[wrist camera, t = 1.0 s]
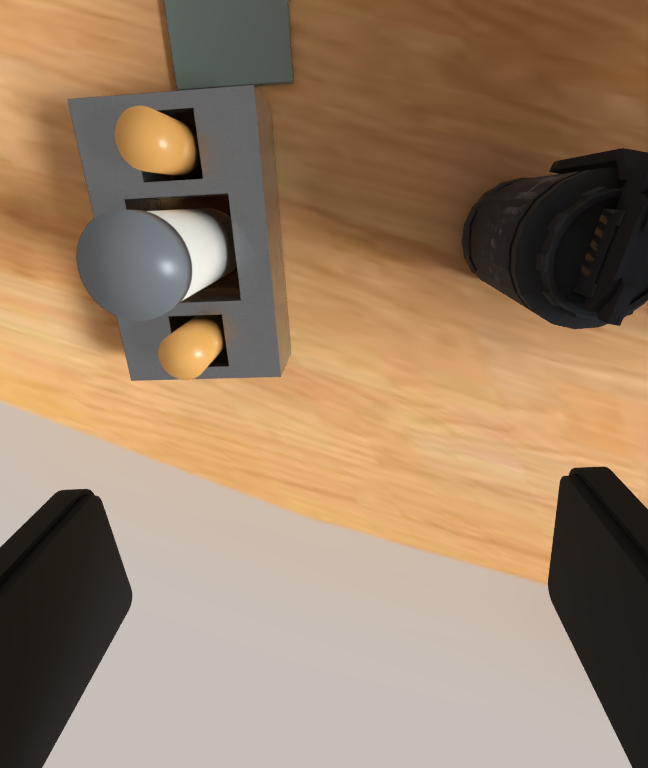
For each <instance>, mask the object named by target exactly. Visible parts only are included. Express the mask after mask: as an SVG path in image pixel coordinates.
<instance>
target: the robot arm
mask: <svg viewBox="0 0 648 768" xmlns="http://www.w3.org/2000/svg"><path fill="white" fill-rule="evenodd" d="M548 589H549V594H550V598H551V601H552V603H553V605H554V607H555V609H556V611H557V614H558V616H559V618H560V620H561V622H562V624H563V626H564V628H565V630H566V632H567V634H568V636H569V638H570V640H571V642H572V644H573V646H574V648H575V651H576V653H577V655H578V657H579V659H580V661H581V663H582V665H583V667H584V669H585V671H586V673H587V675H588V677H589V679H590V681H591V683H592V686H593V688H594V690H595V692H596V694H597V696H598V698H599V700H600V702H601V704H602V706H603V708H604V710H605V712H606V714H607V716H608V718H609V720H610V722H611V725H612V727H613V729H614V731H615V733H616V735H617V737H618V739H619V741H620V743H621V745H622V747H623V749H624V751H625V753H626V755H627V757H628V759H629V761H630V763H631V765H632V768H648V509H647V508H646V507H645V506H644V505H643V504H642V503H641V502H640V501H639V500H638V499H637V497H636V496H635V495H634V494H633V493H632V492H631V491H630V490H629V489H628V488H627V487H626V486H625V485H624V484H623V483H622V481H621V480H620V479H619V478H618V477H617V476H616V475H615V474H614V473H613V472H612V471H611V470H610V469H609V468H607V467H584V468H573V469H571V471H570V473H569V476H563V477H562V478H561V480H560V486H559V494H558V503H557V511H556V519H555V528H554V536H553V544H552V553H551V561H550V569H549V578H548ZM131 602H132V590H131V587H130V584H129V581H128V578H127V575H126V572H125V569H124V566H123V563H122V560H121V557H120V554H119V551H118V548H117V545H116V542H115V539H114V536H113V533H112V530H111V527H110V524H109V521H108V518H107V515H106V512H105V509H104V506H103V503H102V501H101V499H100V498H99V497H98V496H95V495H94V493H93V492H92V491H91V490H88V489H74V490H61V491H58V492H57V493H55V494H54V495H53V496H52V497H51V498H50V499H49V500H48V501H47V502H46V503H45V504H44V505H43V506H42V507H41V508H40V509H39V510H38V511H37V512H36V513H35V514H34V515H33V516H32V517H31V518H30V519H29V520H28V521H27V522H26V523H25V524H24V525H23V526H22V527H21V528H20V529H18V530H17V531H16V533H14V534H13V535H12V536H11V537H10V538H9V539H8V540H7V541H6V542H5V543H4V544H3V545H2V546H1V547H0V768H42V767H43V765H44V763H45V762H46V760H47V758H48V756H49V754H50V752H51V751H52V749H53V747H54V745H55V743H56V742H57V740H58V738H59V736H60V734H61V732H62V731H63V729H64V727H65V725H66V723H67V721H68V720H69V718H70V716H71V714H72V712H73V711H74V709H75V707H76V705H77V703H78V701H79V700H80V698H81V696H82V694H83V692H84V691H85V689H86V687H87V685H88V683H89V682H90V680H91V678H92V676H93V674H94V672H95V671H96V669H97V667H98V665H99V663H100V662H101V660H102V658H103V656H104V654H105V652H106V651H107V649H108V647H109V645H110V643H111V642H112V640H113V638H114V636H115V634H116V632H117V631H118V629H119V627H120V625H121V623H122V621H123V619H124V618H125V616H126V614H127V612H128V611H129V608H130V606H131Z"/></svg>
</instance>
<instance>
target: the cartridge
mask: <svg viewBox="0 0 648 768" xmlns="http://www.w3.org/2000/svg"><path fill="white" fill-rule="evenodd" d="M76 257H77V266H78V271H79V274H80V278H81V280H82V282H83V284H84V286H85V288H86V290H87V291H88V293H89V294H90V295H91V297H92V298H93V299H94V300H95V301H96V302H97V303H98V304H99V305H100V306H101V307H102V308H104V309H105V310H107V311H108V312H110V313H111V314H113V315H115V316H118V317H120V318H123V319H126V320H132V321H147V320H151V319H154V318H157V317H159V316H161V315H163V314H164V313H166V312H168V311H169V310H171V309H173V308H175V307H176V306H177V305H178V304H179V303H180V302H181V301H182V300H184V299H186V298H188V297H189V296H191V295H193V294H194V293H196V292H198V291H200V290H201V289H203V288H205V287H206V286H208V285H210V284H212V283H213V282H215V281H217V280H219V279H220V278H222V277H224V276H225V275H227V274H229V273H230V272H232V271H233V270H234V269H235V268H236V267H237V262H236V254H235V246H234V237H233V229H232V221H231V218H230V217H229V216H228V215H226V214H225V213H223V212H221V211H219V210H216V209H211V208H199V209H180V210H160V211H143V210H115V211H110V212H106V213H103V214H101V215H99V216H97V217H96V218H94V219H93V220H92V221H91V222H90V223H89V224H88V225H87V226H86V227H85V229H84V230H83V232H82V234H81V236H80V239H79V242H78V246H77V255H76Z"/></svg>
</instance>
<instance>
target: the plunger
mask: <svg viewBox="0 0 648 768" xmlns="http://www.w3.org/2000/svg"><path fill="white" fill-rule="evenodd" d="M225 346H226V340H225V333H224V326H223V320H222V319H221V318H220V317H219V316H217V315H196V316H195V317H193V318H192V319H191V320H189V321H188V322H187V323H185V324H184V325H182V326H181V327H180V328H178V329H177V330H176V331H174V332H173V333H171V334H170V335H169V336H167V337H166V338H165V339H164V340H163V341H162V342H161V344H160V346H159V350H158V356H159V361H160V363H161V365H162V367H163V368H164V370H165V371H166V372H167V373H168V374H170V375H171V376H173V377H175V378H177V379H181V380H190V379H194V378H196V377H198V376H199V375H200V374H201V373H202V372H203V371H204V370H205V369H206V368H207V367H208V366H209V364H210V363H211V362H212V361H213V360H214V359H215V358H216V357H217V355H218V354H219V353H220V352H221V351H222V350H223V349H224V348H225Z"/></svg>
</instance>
